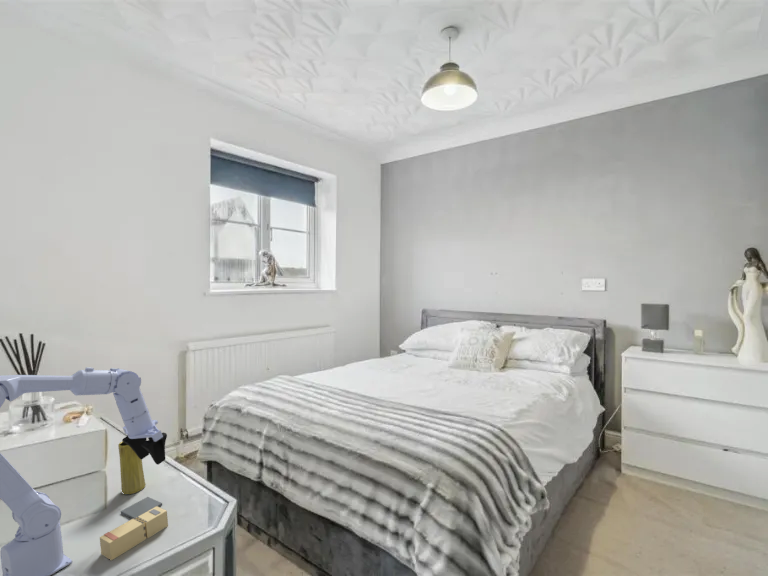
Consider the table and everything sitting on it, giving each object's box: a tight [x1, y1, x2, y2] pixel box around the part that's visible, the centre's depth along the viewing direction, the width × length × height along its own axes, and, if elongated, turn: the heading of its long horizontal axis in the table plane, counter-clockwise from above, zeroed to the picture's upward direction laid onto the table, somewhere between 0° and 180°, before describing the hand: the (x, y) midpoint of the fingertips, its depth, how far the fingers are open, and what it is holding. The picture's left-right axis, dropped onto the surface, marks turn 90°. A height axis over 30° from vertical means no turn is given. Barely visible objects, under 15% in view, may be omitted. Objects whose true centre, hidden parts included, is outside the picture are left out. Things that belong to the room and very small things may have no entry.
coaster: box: [120, 496, 163, 520], centre depth 104 cm, size 7×7×1 cm
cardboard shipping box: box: [99, 518, 147, 562], centre depth 90 cm, size 8×4×4 cm, turn 150°
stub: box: [136, 506, 169, 539], centre depth 95 cm, size 5×4×4 cm
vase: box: [117, 441, 147, 495], centre depth 114 cm, size 6×6×14 cm
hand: (152, 459), depth 102 cm, fingers open, 7 cm apart
